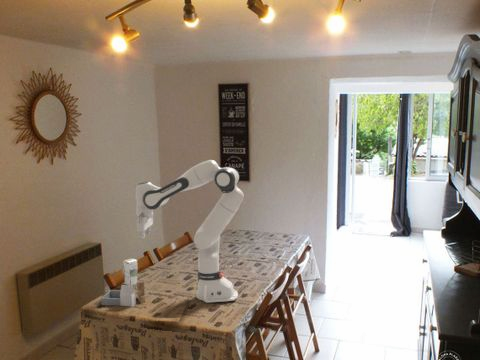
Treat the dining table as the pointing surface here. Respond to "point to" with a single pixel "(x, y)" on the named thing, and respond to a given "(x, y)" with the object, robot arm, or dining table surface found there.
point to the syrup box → (130, 272)
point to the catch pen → (111, 301)
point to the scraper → (140, 291)
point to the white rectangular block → (127, 296)
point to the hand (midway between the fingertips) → (145, 236)
